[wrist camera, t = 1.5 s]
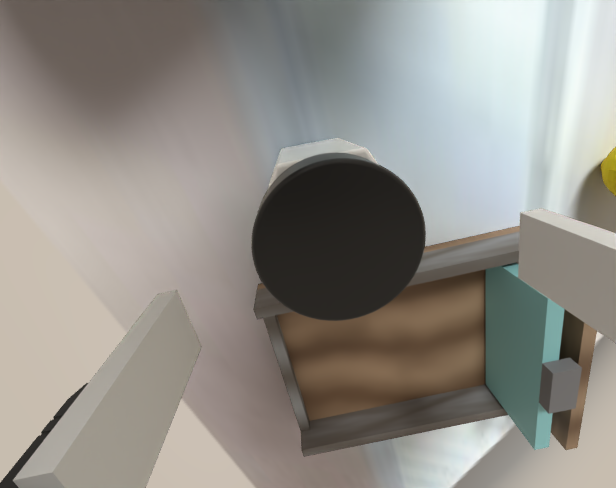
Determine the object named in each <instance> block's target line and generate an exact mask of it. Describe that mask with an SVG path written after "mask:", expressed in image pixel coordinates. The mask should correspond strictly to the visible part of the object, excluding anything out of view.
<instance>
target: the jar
mask: <svg viewBox="0 0 616 488" xmlns="http://www.w3.org/2000/svg"><path fill="white" fill-rule="evenodd" d="M425 235H426V232H425V222H424V217H423V214H422V211H421V208H420V206H419V203H418V201H417V199H416V197H415V196H414V194H413V193H412V191H411V190H410V189H409V187H408V186H407V185H406V184H405V183H404V182H403V181H402V180H401V179H400V178H399V177H398V176H396V175H395V174H394V173H392V172H391V171H389V170H388V169H386V168H384V167H382V166H380V165H379V164H378V163H377V162H376V160H375V159H374V157H373V156H372V155H371V153H370V152H369V151H368V149H366V148H364V147H362V146H359V145H356V144H354V143H351V142H348V141H346V140H343V139H340V138H333V139H328V140H322V141H317V142H312V143H307V144H301V145H296V146H291V147H285V148H282V149H280V152H279V155H278V158H277V161H276V164H275V167H274V171H273V174H272V177H271V180H270V183H269V186H268V189H267V192H266V194H265V195H264V197H263V200H262V202H261V205H260V207H259V210H258V213H257V216H256V219H255V223H254V227H253V232H252V240H251V245H252V256H253V261H254V265H255V268H256V271H257V273H258V275H259V278H260V279H261V281H262V283H263V285H264V286H265V287H266V289H267V290H268V291H269V293H270V294H271V295H272V296H273V297H274V298H275V299H276V300H277V301H278V302H280V303H281V304H282V305H284V306H285V307H287V308H288V309H290V310H292V311H294V312H296V313H298V314H301V315H303V316H306V317H309V318H313V319H318V320H326V321H342V320H350V319H354V318H359V317H362V316H365V315H368V314H370V313H373V312H375V311H377V310H379V309H380V308H382V307H384V306H385V305H387V304H388V303H390V302H391V301H392V300H393V299H395V298H396V297H397V296H398V295H399V294H400V293H401V292H402V291H403V290H404V289H405V288H406V286H407V285H408V284H409V283H410V281H411V280H412V278H413V277H414V275H415V273H416V271H417V269H418V267H419V265H420V262H421V259H422V256H423V252H424V247H425Z"/></svg>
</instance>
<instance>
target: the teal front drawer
mask: <svg viewBox="0 0 616 488" xmlns="http://www.w3.org/2000/svg"><path fill="white" fill-rule="evenodd" d="M519 237H520V226H517V227H512V228H508V229H503V230H499V231H494V232H490V233H485V234H481V235H476V236H472V237H467V238H463V239H458V240H454V241H449V242H445V243H440V244H436V245H431V246H427V247H424V252H423V256H422V259H421V262H420V265H419V267H418V269H417V271H416V273H415V275H414V277H413V278H412V280H411V281H410V283H409V284H408V285H407V286H406V288H405V289H404V290H403V291H402V292H401V293H400V294H399V295H398V296H397V297H396V298H395V299H393V300H392V301H391V302H390V303H388V304H387V305H385V306H384V307H382V308H380V309H379V310H377V311H375V312H373V313H370V314H368V315H365V316H362V317H359V318H354V319H350V320H342V321H326V320H318V319H313V318H309V317H306V316H303V315H301V314H298V313H296V312H294V311H292V310H290V309H288V308H287V307H285V306H284V305H282V304H281V303H280V302H278V301H277V300H276V299H275V298H274V297H273V296H272V295H271V294H270V293H269V291H268V290H267V289H266V287H265V286H264V285H263V283H261V284H258V288H257V293H256V298H255V304H254V312H255V315H256V318H257V319H261V318H264V321H265V324H266V327H267V330H268V333H269V337H270V340H271V343H272V346H273V349H274V352H275V355H276V358H277V361H278V364H279V367H280V370H281V373H282V376H283V379H284V382H285V385H286V388H287V391H288V394H289V397H290V400H291V403H292V406H293V409H294V412H295V415H296V418H297V421H298V424H299V427H300V430H301V446H302V453H303V456H304V457H305V456H310V455H315V454H319V453H324V452H329V451H334V450H339V449H344V448H349V447H354V446H358V445H363V444H368V443H373V442H378V441H383V440H388V439H393V438H397V437H402V436H407V435H412V434H417V433H422V432H427V431H432V430H436V429H441V428H446V427H451V426H456V425H461V424H466V423H471V422H475V421H480V420H485V419H490V418H495V417H500V416H505V415H508V413H507V412H506V411H505V409H504V408H503V407H502V405H501V404H500V403H499V401H498V400H497V399H496V397H495V396H494V395H493V393H492V392H491V391H490V389H489V388H488V386H487V385H486V269H489V268H494V267H498V266H503V265H507V264H512V263H517V264H519ZM596 333H597V331H596V330H595V329H593V328H592V327H590V326H589V325H587V324H586V323H584V322H583V321H582V320H580V319H579V318H577V317H576V316H574V315H573V314H571V313H570V312H568V311H567V310H564V319H563V327H562V336H561V345H560V354H559V360H560V359H565V358H571V359H572V360H573V361H575V362H576V363H577V364H578V365H579V366H581V367H582V371H581V377H580V384H579V390H578V397H577V403H576V408H575V409H570V410H565V411H560V412H556V413H553V415H552V423H551V433H552V434H553V435H554V437H555V438H556V439H557V440H558V441H559V442H560V444H561V445H562V446H563V447H564V449H565V450H568V449H573V448H577V447H578V440H579V434H580V428H581V423H582V416H583V411H584V405H585V398H586V393H587V387H588V381H589V375H590V369H591V363H592V357H593V351H594V345H595V339H596Z"/></svg>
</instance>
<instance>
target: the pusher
mask: <svg viewBox="0 0 616 488" xmlns="http://www.w3.org/2000/svg"><path fill="white" fill-rule="evenodd" d="M518 266H519V264H517V263H512V264H507V265H503V266H498V267H494V268H489V269H486V385H487V386H488V388H489V389H490V391H491V392H492V393H493V395H494V396H495V397H496V399H497V400H498V401H499V403H500V404H501V405H502V407H503V408H504V409H505V411H506V412H507V413H508V415H509V416H510V417H511V419H512V420H513V422H514V423H515V424H516V426H517V427H518V428H519V430H520V431H521V432H522V434H523V435H524V436H525V438H526V439H527V440H528V442H529V443H530V444H531V446H532V447H533V448H534V450H536V449H541V448H546V447H549V441H550V432H551V423H552V415H553V413H556V412H560V411H565V410H570V409H575V408H576V403H577V397H578V390H579V384H580V377H581V371H582V367H581V366H579V365H578V364H577V363H576V362H575V361H573V360H572V359H571V358H565V359H560V360H559V354H560V345H561V336H562V327H563V319H564V310H565V309H564V308H562V307H561V306H559V305H558V304H556V303H555V302H553V301H552V300H550V299H549V298H547V297H546V296H544V295H543V294H541V293H540V292H539V291H537V290H536V289H534V288H533V287H531V286H530V285H528V284H527V283H525V282H524V281H522V280H521V279H519V278H518Z"/></svg>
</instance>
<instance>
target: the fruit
mask: <svg viewBox="0 0 616 488" xmlns="http://www.w3.org/2000/svg"><path fill="white" fill-rule="evenodd" d="M601 171H602V178H603V182H604V184H605V185H606V187H607V188H608V189H609V190H610V191H611V192H612V193H613V194H614V195H615V196H616V147H615V148H614V149H613V150H612V151H611V152H610V153H609V155H608V156H607V158H605V159H604V160H603V162H602V164H601Z"/></svg>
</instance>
